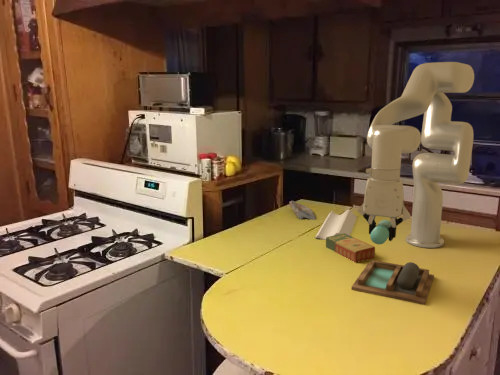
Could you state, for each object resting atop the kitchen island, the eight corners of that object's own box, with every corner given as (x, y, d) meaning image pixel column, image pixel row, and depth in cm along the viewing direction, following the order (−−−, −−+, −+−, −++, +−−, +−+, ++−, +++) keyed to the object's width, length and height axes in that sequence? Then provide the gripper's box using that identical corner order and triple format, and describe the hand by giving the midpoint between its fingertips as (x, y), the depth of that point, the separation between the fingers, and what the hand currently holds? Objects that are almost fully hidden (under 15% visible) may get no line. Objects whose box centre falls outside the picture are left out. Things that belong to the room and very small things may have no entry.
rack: (368, 265, 135) (368, 258, 135) (433, 277, 126) (434, 269, 126) (351, 289, 120) (351, 281, 119) (424, 304, 111) (425, 296, 110)
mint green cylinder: (377, 233, 127) (378, 219, 126) (393, 235, 125) (394, 220, 124) (369, 243, 119) (370, 227, 118) (386, 245, 117) (387, 229, 116)
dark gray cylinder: (402, 274, 126) (404, 260, 125) (418, 278, 124) (420, 264, 123) (396, 287, 118) (398, 272, 117) (412, 291, 116) (415, 277, 115)
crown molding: (329, 216, 188) (329, 208, 187) (357, 218, 184) (358, 210, 183) (315, 240, 160) (315, 230, 159) (348, 243, 156) (348, 234, 155)
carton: (354, 263, 138) (355, 251, 137) (324, 247, 152) (325, 236, 151) (375, 258, 141) (375, 246, 140) (344, 243, 155) (344, 232, 154)
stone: (320, 214, 181) (297, 208, 180) (316, 225, 182) (294, 219, 181) (310, 203, 198) (289, 197, 196) (306, 212, 199) (286, 207, 197)
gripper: (350, 174, 118) (348, 237, 123) (416, 179, 110) (411, 247, 115) (358, 169, 125) (355, 230, 129) (420, 174, 117) (415, 238, 121)
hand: (381, 237), depth 122 cm, fingers closed on mint green cylinder, 4 cm apart
